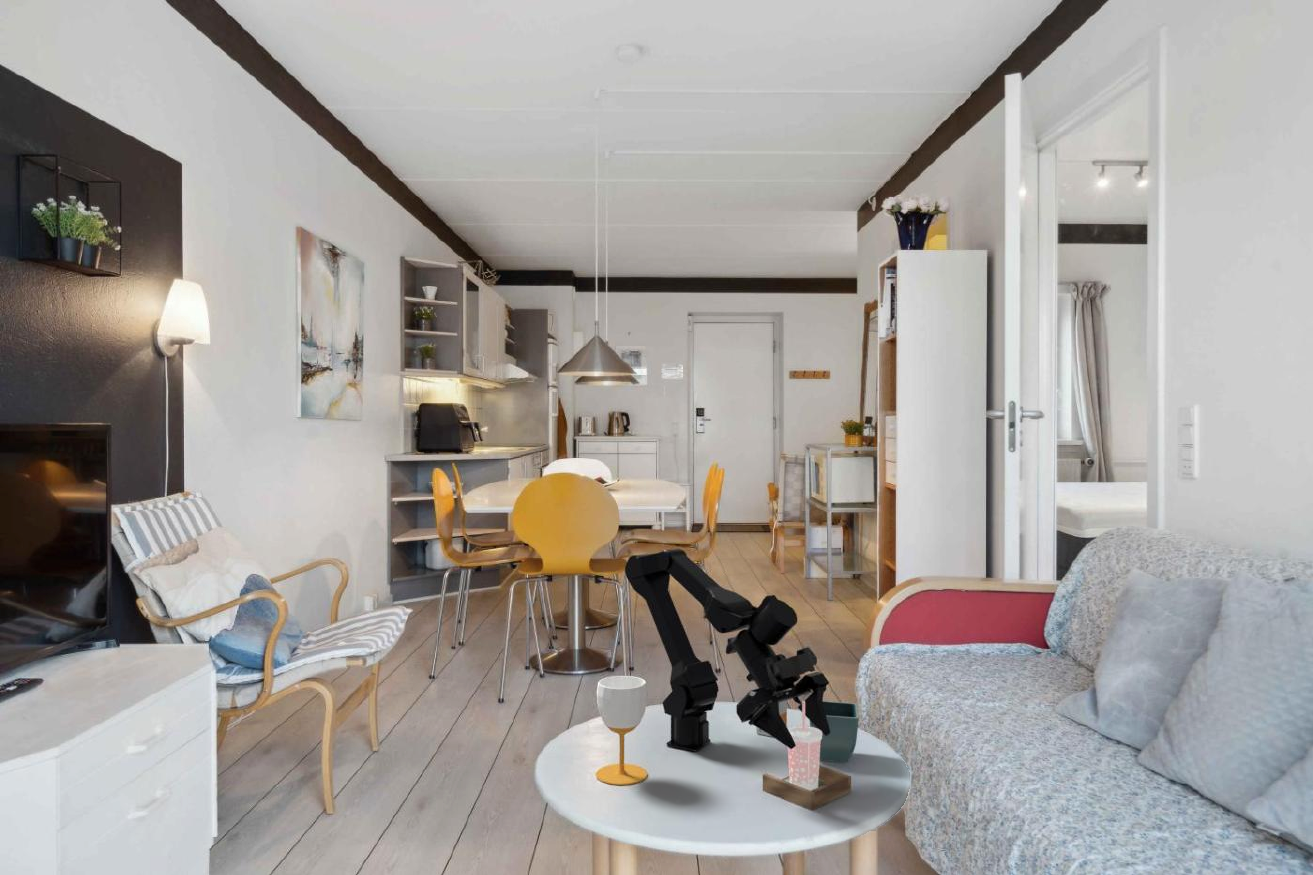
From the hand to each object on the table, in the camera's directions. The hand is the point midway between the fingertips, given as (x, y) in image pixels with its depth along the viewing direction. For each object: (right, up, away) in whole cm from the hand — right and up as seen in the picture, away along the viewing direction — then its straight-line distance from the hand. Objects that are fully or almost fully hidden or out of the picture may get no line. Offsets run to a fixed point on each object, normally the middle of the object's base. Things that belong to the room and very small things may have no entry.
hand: (811, 740), depth 134 cm
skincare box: (-2, -9, +29) cm, 31 cm away
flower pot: (+7, -9, +16) cm, 20 cm away
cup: (-32, -9, +7) cm, 34 cm away
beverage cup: (-1, -8, +1) cm, 8 cm away
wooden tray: (-1, -9, +1) cm, 9 cm away
